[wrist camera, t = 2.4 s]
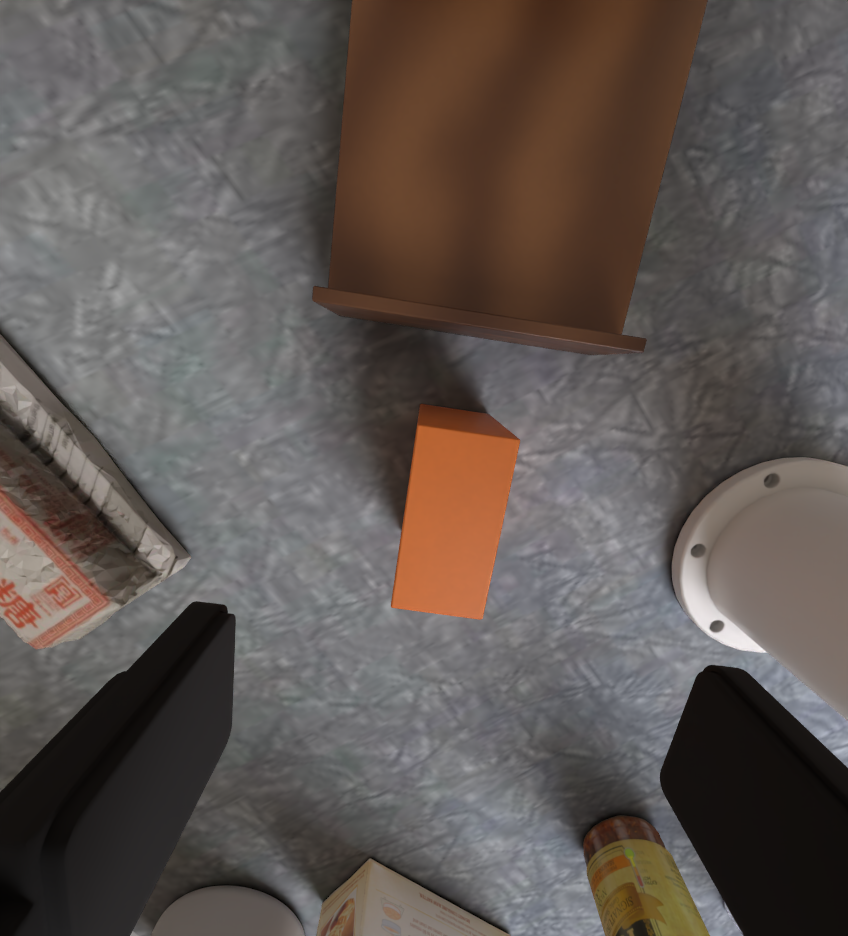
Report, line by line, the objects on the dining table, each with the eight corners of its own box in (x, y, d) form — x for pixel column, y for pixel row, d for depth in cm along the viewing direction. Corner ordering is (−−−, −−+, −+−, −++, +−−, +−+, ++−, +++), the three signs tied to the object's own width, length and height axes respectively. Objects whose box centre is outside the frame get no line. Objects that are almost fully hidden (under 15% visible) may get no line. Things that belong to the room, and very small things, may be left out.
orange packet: (489, 413, 23) (520, 439, 16) (465, 541, 25) (482, 620, 18) (420, 403, 23) (417, 424, 15) (401, 532, 25) (390, 608, 17)
